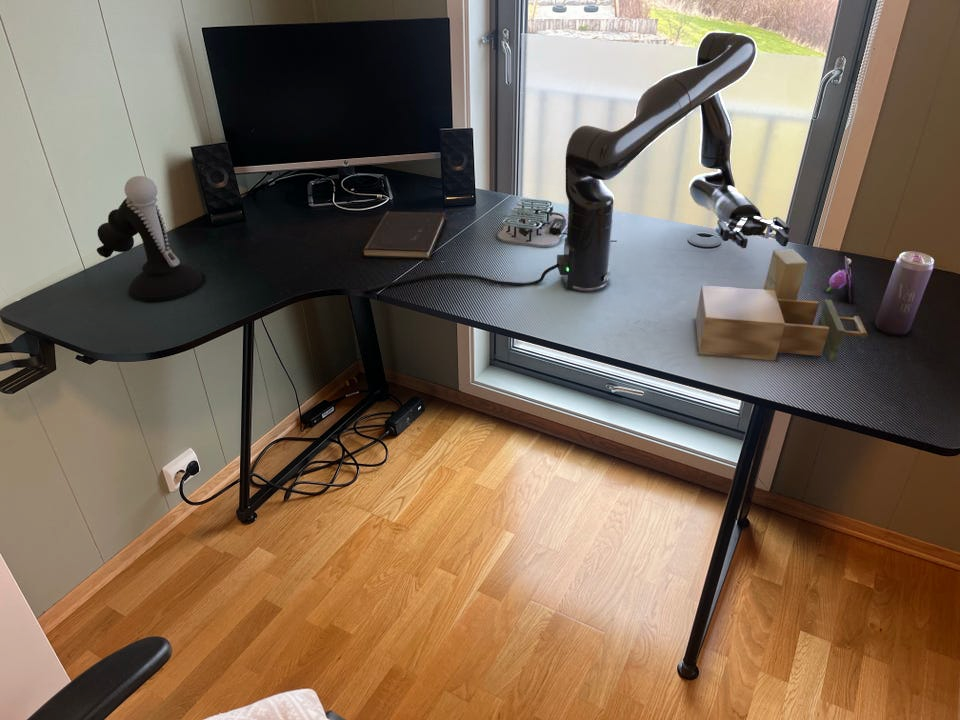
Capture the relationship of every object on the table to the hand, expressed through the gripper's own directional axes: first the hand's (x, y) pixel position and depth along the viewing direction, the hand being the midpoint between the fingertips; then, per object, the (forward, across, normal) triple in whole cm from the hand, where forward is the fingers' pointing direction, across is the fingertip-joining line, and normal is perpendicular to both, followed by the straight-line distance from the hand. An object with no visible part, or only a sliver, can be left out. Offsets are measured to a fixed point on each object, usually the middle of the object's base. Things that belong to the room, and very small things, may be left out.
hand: (765, 243), depth 145 cm
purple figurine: (+5, +16, +10) cm, 19 cm away
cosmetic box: (+11, 0, +10) cm, 15 cm away
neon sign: (-34, -37, +10) cm, 51 cm away
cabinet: (+21, -13, +10) cm, 26 cm away
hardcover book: (-34, -76, +10) cm, 84 cm away
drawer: (+24, 0, +9) cm, 26 cm away
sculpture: (-16, -133, +10) cm, 134 cm away
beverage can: (+20, +19, +10) cm, 29 cm away
